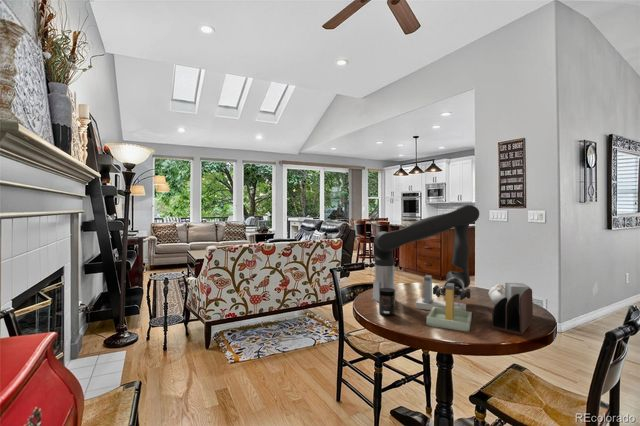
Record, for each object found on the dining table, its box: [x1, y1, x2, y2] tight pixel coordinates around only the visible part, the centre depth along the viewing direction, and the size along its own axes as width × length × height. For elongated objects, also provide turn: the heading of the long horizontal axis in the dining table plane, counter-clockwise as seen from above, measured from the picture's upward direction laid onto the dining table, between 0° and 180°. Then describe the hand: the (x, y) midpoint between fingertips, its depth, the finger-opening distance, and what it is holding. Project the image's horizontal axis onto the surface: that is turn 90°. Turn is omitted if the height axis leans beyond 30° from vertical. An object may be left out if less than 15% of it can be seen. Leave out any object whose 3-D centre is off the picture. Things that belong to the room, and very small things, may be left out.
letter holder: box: [491, 287, 534, 336], centre depth 129 cm, size 10×20×14 cm, turn 138°
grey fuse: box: [423, 274, 433, 304], centre depth 151 cm, size 2×5×14 cm, turn 152°
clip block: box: [415, 297, 467, 311], centre depth 149 cm, size 20×8×3 cm, turn 62°
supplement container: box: [378, 288, 396, 317], centre depth 142 cm, size 7×7×10 cm
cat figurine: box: [488, 283, 505, 305], centre depth 156 cm, size 10×8×15 cm
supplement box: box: [504, 282, 531, 314], centre depth 141 cm, size 7×7×13 cm
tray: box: [426, 307, 473, 333], centre depth 132 cm, size 15×15×3 cm
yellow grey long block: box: [445, 283, 455, 320], centre depth 132 cm, size 2×5×14 cm, turn 151°
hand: (449, 296), depth 131 cm, fingers open, 8 cm apart
